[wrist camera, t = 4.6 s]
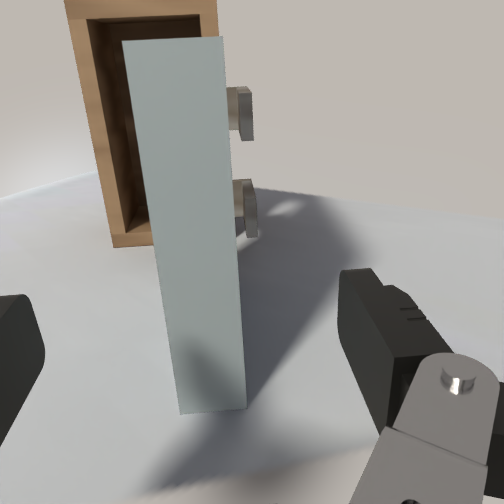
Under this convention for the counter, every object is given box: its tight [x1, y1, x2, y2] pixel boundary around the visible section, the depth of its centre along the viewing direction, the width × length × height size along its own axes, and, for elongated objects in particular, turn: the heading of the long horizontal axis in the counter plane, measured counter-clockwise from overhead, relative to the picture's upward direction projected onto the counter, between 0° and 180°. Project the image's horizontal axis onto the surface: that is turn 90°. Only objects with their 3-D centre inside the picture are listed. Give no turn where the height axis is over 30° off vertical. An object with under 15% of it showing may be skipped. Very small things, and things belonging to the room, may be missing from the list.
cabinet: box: [64, 0, 258, 248], centre depth 34 cm, size 12×12×18 cm
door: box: [122, 36, 247, 415], centre depth 21 cm, size 12×3×15 cm, turn 4°
